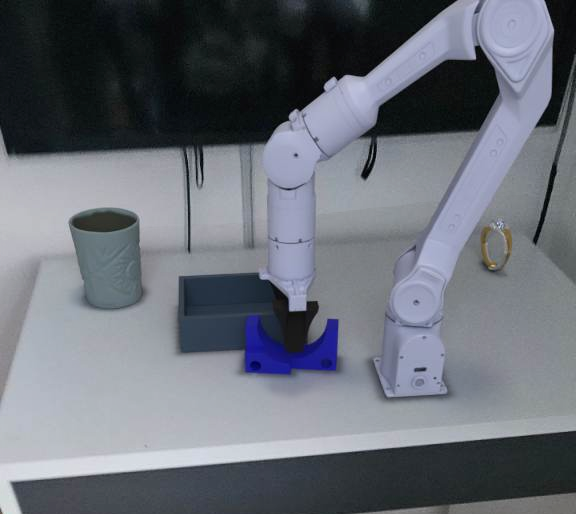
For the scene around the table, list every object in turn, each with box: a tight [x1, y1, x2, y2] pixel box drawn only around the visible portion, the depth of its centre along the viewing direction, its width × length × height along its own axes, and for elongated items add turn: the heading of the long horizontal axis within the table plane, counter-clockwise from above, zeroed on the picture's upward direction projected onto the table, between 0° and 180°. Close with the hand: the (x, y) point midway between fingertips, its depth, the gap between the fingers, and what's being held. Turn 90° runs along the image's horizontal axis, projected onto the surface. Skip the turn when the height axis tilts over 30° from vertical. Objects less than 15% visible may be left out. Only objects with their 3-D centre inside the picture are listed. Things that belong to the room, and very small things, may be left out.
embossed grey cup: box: [68, 207, 143, 310], centre depth 115 cm, size 10×10×12 cm
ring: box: [480, 218, 513, 271], centre depth 123 cm, size 7×3×8 cm, turn 16°
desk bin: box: [177, 271, 309, 353], centre depth 110 cm, size 14×18×5 cm
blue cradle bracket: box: [244, 315, 340, 375], centre depth 101 cm, size 12×4×6 cm, turn 84°
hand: (291, 337), depth 100 cm, fingers open, 7 cm apart
